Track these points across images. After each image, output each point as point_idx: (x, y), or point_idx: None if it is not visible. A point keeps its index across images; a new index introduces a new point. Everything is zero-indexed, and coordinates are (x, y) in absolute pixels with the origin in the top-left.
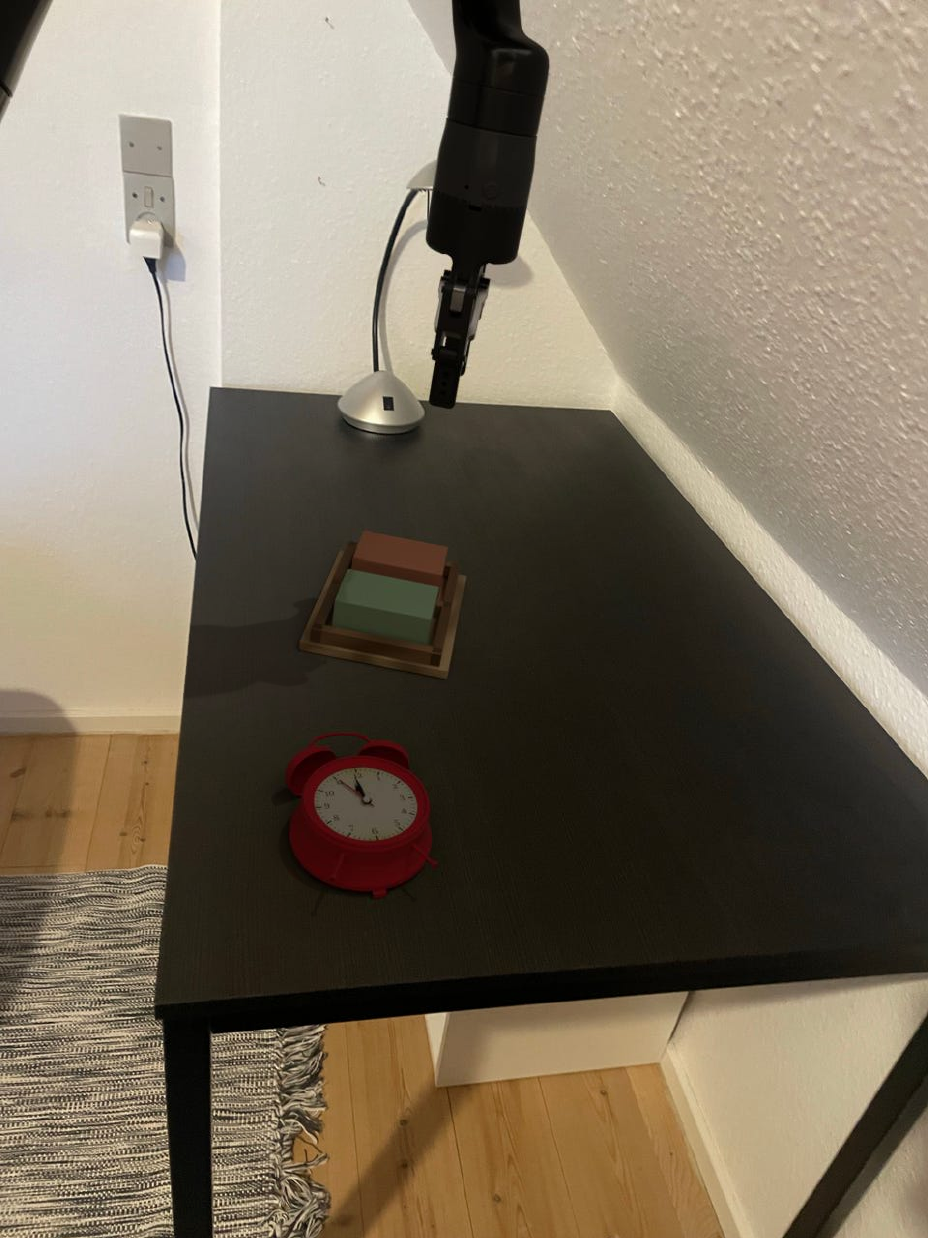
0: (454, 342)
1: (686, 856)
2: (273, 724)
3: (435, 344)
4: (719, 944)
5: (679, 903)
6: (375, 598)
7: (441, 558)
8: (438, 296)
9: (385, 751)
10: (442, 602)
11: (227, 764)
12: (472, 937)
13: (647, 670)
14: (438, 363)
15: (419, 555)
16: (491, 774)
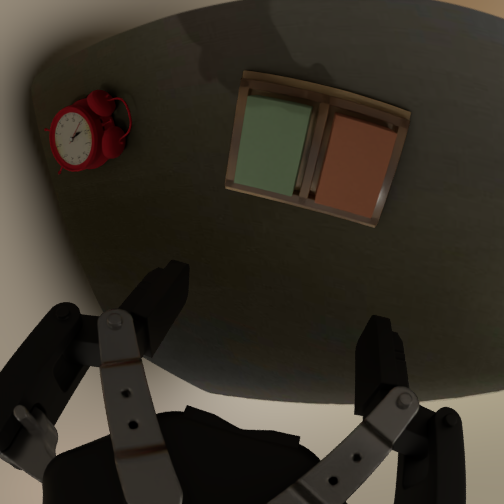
0: (368, 379)
1: (122, 283)
2: (158, 67)
3: (39, 324)
4: (88, 276)
5: (99, 270)
6: (258, 133)
7: (347, 207)
8: (148, 451)
9: (118, 143)
10: (304, 197)
11: (122, 52)
12: (62, 184)
13: (264, 322)
14: (131, 315)
15: (350, 186)
16: (143, 203)
